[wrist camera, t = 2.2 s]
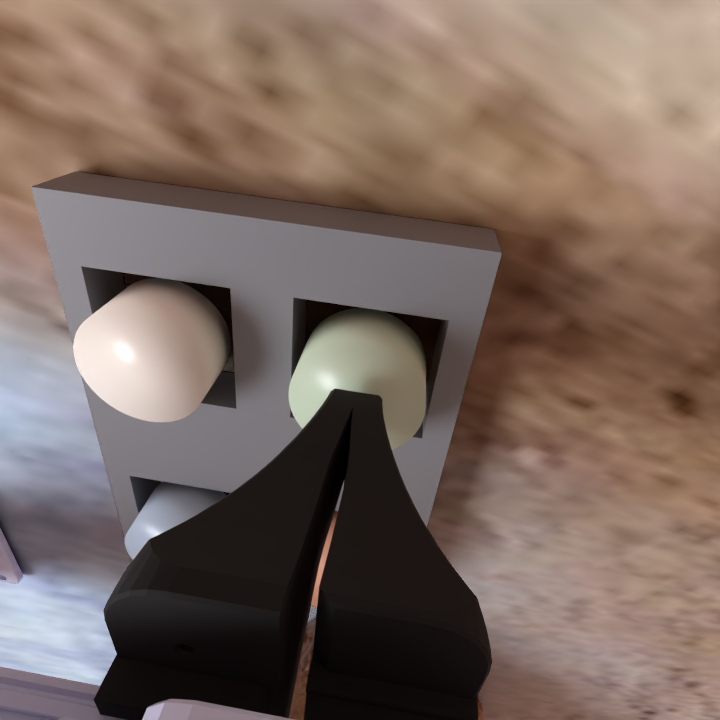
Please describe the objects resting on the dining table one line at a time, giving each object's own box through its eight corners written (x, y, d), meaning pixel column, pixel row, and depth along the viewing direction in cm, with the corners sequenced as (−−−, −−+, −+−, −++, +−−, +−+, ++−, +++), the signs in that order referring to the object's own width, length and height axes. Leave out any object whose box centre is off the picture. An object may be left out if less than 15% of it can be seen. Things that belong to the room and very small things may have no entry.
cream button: (125, 373, 17) (89, 411, 16) (104, 269, 15) (58, 299, 13) (233, 390, 17) (209, 431, 15) (228, 287, 15) (199, 320, 13)
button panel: (153, 536, 25) (133, 571, 23) (75, 171, 15) (31, 186, 13) (403, 580, 24) (401, 619, 23) (493, 229, 14) (502, 252, 13)
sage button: (302, 401, 17) (287, 443, 15) (307, 299, 15) (289, 334, 13) (415, 419, 17) (413, 464, 15) (436, 318, 15) (437, 356, 13)
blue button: (157, 532, 22) (133, 575, 20) (145, 471, 20) (116, 513, 18) (242, 547, 22) (224, 592, 20) (239, 487, 20) (219, 531, 18)
